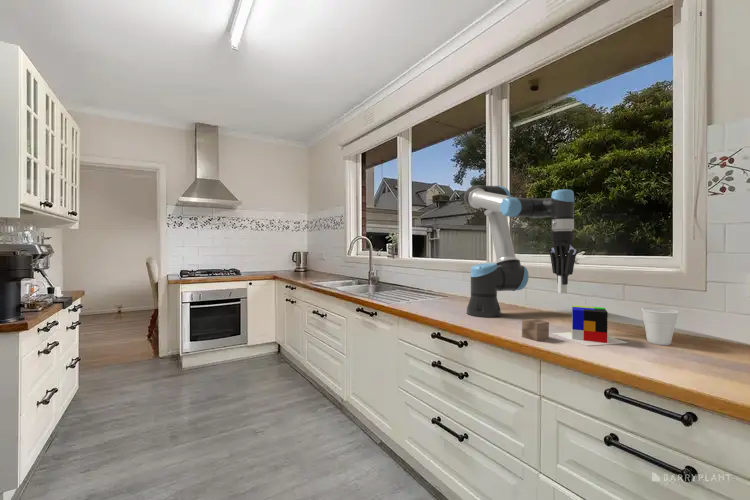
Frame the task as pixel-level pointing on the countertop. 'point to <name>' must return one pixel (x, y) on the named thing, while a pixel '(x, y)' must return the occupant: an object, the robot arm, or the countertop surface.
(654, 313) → the cup
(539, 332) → the walnut block
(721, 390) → the countertop surface
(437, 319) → the countertop surface
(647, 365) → the countertop surface
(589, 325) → the puzzle toy
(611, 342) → the mat
